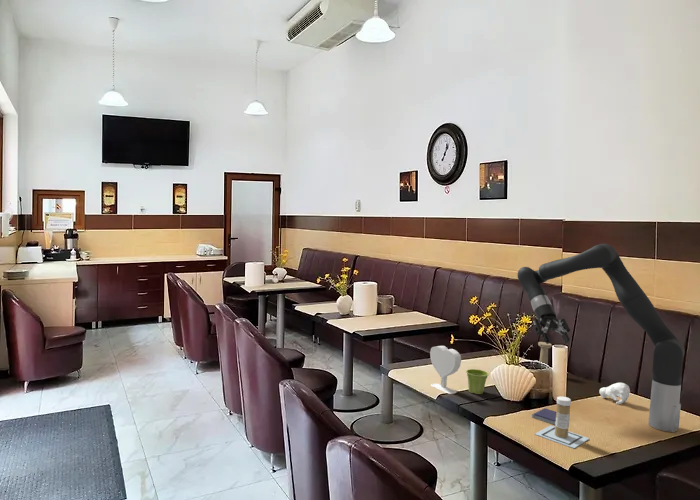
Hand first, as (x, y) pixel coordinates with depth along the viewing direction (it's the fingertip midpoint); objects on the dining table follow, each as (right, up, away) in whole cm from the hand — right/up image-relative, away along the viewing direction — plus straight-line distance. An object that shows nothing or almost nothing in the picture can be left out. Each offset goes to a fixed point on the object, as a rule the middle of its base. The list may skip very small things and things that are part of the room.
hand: (558, 342), depth 209 cm
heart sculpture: (-41, -24, +22) cm, 53 cm away
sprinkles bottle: (-8, -29, -23) cm, 38 cm away
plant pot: (-28, -25, +19) cm, 42 cm away
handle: (+12, -24, +50) cm, 57 cm away
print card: (-8, -29, -24) cm, 38 cm away
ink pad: (-6, -28, -7) cm, 29 cm away
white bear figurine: (+29, -28, +16) cm, 43 cm away
